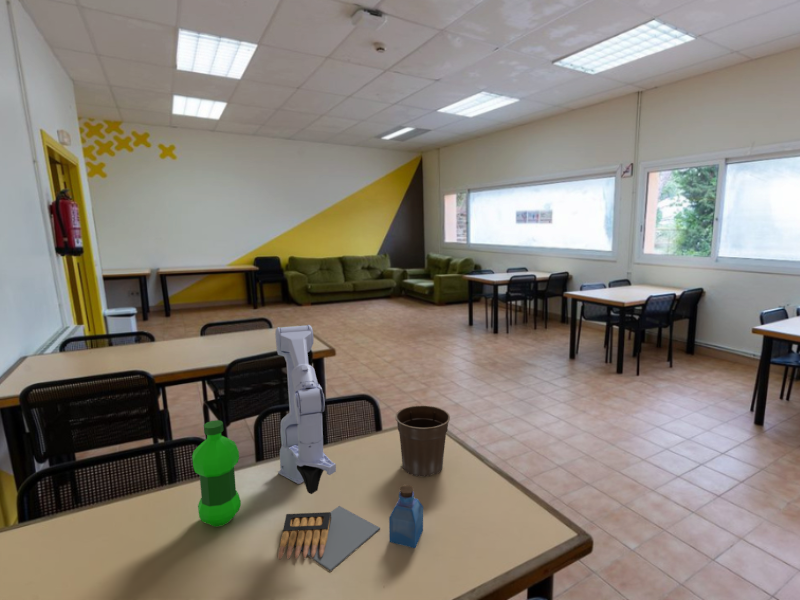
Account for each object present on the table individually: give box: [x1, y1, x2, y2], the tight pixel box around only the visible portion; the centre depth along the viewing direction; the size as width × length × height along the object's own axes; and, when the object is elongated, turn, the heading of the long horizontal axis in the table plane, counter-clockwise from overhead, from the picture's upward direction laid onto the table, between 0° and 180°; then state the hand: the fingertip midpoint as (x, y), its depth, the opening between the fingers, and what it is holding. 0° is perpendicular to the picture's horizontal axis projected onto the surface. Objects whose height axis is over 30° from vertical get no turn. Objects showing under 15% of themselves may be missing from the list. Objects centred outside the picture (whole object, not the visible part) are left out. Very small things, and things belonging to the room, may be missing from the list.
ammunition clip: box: [278, 511, 331, 560], centre depth 98 cm, size 11×2×12 cm
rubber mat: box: [294, 505, 381, 572], centre depth 100 cm, size 14×16×1 cm
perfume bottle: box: [388, 484, 424, 549], centre depth 99 cm, size 6×6×12 cm
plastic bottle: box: [191, 419, 242, 528], centre depth 104 cm, size 10×10×25 cm
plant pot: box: [394, 405, 451, 478], centre depth 128 cm, size 16×16×16 cm
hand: (312, 491), depth 103 cm, fingers closed
